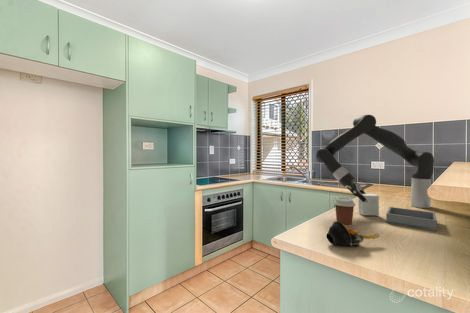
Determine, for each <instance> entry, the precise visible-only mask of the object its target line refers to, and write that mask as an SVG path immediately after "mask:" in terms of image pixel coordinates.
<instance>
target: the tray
mask: <svg viewBox="0 0 470 313" xmlns="http://www.w3.org/2000/svg"><path fill="white" fill-rule="evenodd" d="M385 223H386V224H391V225H396V226H402V227H407V228H409V227H410V228H414V229H415V228H416V229H420V230H421V229H422V230H426V231H431V232H432V231H433V232H438V219H437V215H436V212H432V211H425V210H417V209H411V208H410V209H409V208H404V207H402V208H401V207H394V206H389V207H388V209H387V211H386V219H385Z"/></svg>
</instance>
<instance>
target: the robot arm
mask: <svg viewBox="0 0 470 313" xmlns="http://www.w3.org/2000/svg"><path fill="white" fill-rule="evenodd" d="M352 126H353V127H351V128H350V129H348V130H347V131H344V132H343V133H341V134H339V135H338V136H336V137H335V138H333V139H332V140H331V141H329V143H328V144H327V145H326V146H325V147H324V148H323V147H321V148H319V149H318V150H317V151H316V153H315V154H316V155H315V159H316V161H317V162H319V163H323V164H324V165H325V166H326V169H327V170H328V171H329V173H330V174H332V176H333V177H334V178H335V179H336V180H337V181H338V182H339V183H340V184H341V185H342V187H345V188H347V189H348V191H350V192H351V193H352V195H353V196H354V197H357V198H358V200H359V199H360V200H361V201H362V202H364V201H366V198H365V197H364V196H363V195H362V194H367V193H366V192H365V189H364V188H363V187H362V186H361V185H360V184H359V183H358V182H357V181H355V179H356V177H354V176H353V174H351V172H350V171H349V170H348V169H347V168H345V166H343V165H342V164H341V163H340V162H339V161H338V160H336V157H335V156H334V155H335V154H336V153H337V152H339V151H340V150H342V149H343V148H344V147H345V146H347V145H348V144H349V143H351V142H352V141H354V140H355V139H357V138H359V137H360V136H362V135H364V134H365V135H366V136H368V137H370V138H372V139H373V140H374V141H376V142H378V143H379V144H380V145H382V146H384V147H385V148H386V149H388V150H389V151H392V152H393V153H394V154H396V155H398V156H399V157H401V158H402V159H404V160H405V161H406V162H407V163H408V164H409V165H410V166H413V167H417V170H416V171H415V172H412V173H411V181H410V182H411V185H410V186H411V187H410V190H411V191H410V206H411V207H414V208H419V209H430V208H432V207H431V203H432V202H431V198H432V197H431V198H429V197H428V195H427V189H428V188H429V186H430V185H431V186H432V176H433V174H434V166H435V157H434V155H433V154H432V153H431V152H429V151H416V150H414V149H412V148H410V147H409V146H407V144H406V141H405V139H404V138H402V137H401V136H400V135H398V134H396V133H395V132H393V131H391V130H388V129H386V128H382V127H380V126H377V119H376V117H375V116H374V115H372V114H363V115H358V116H357V117H355V118H354V119H353V122H352ZM354 181H355V182H354Z"/></svg>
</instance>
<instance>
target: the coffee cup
mask: <svg viewBox="0 0 470 313" xmlns="http://www.w3.org/2000/svg"><path fill="white" fill-rule="evenodd" d="M333 204H334V205H335V219H336V221H337V222H340V223H342V224H343V225H345V227H346V228H350V227H353V220H354V219H353V216H354V207H356V203H355V202H354V200H353V199H352V198H350V197H349V198H348V197H337V198H336V199H335V200H334V201H333Z"/></svg>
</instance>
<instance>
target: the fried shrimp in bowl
mask: <svg viewBox="0 0 470 313" xmlns="http://www.w3.org/2000/svg"><path fill="white" fill-rule="evenodd" d="M359 233H361V231H360V230H354V229H352V228H350V227H345V225H343V224H342V223H340V222H337V220H336V221H334V222H333V223H332V225H331V226H330V227H329V229H328V231H327V233H326V236H325V237H326V239H327V240H328V242H329V243H330V244H331V245H333V246H334V245H337V246H350V247H358V246H360V244H361V242H362V243H363V241H364V240H365V239H369V240H370V239H374V240H375V239H378V238H380V234H379V233H370V234H359Z"/></svg>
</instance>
